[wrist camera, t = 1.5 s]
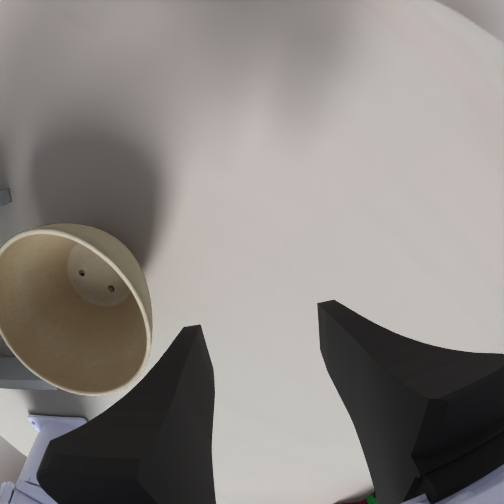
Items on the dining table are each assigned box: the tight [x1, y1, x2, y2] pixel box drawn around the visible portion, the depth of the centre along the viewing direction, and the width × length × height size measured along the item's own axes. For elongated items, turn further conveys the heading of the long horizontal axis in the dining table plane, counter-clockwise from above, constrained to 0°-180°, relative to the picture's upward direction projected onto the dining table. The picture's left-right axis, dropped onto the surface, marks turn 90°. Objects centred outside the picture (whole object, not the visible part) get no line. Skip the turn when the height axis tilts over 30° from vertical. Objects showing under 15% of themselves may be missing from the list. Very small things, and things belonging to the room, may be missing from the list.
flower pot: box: [0, 223, 152, 396], centre depth 17 cm, size 10×10×7 cm
